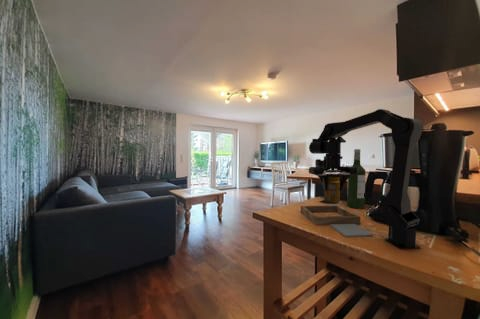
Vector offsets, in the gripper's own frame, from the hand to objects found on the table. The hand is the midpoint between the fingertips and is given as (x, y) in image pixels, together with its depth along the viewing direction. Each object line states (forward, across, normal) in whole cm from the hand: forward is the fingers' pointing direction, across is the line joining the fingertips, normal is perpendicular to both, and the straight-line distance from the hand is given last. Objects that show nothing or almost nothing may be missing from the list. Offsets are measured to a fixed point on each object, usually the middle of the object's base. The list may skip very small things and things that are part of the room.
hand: (332, 190), depth 84 cm
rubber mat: (+13, -1, +11) cm, 17 cm away
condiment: (+5, +1, 0) cm, 5 cm away
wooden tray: (+12, 0, -3) cm, 13 cm away
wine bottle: (+13, -22, -18) cm, 31 cm away
